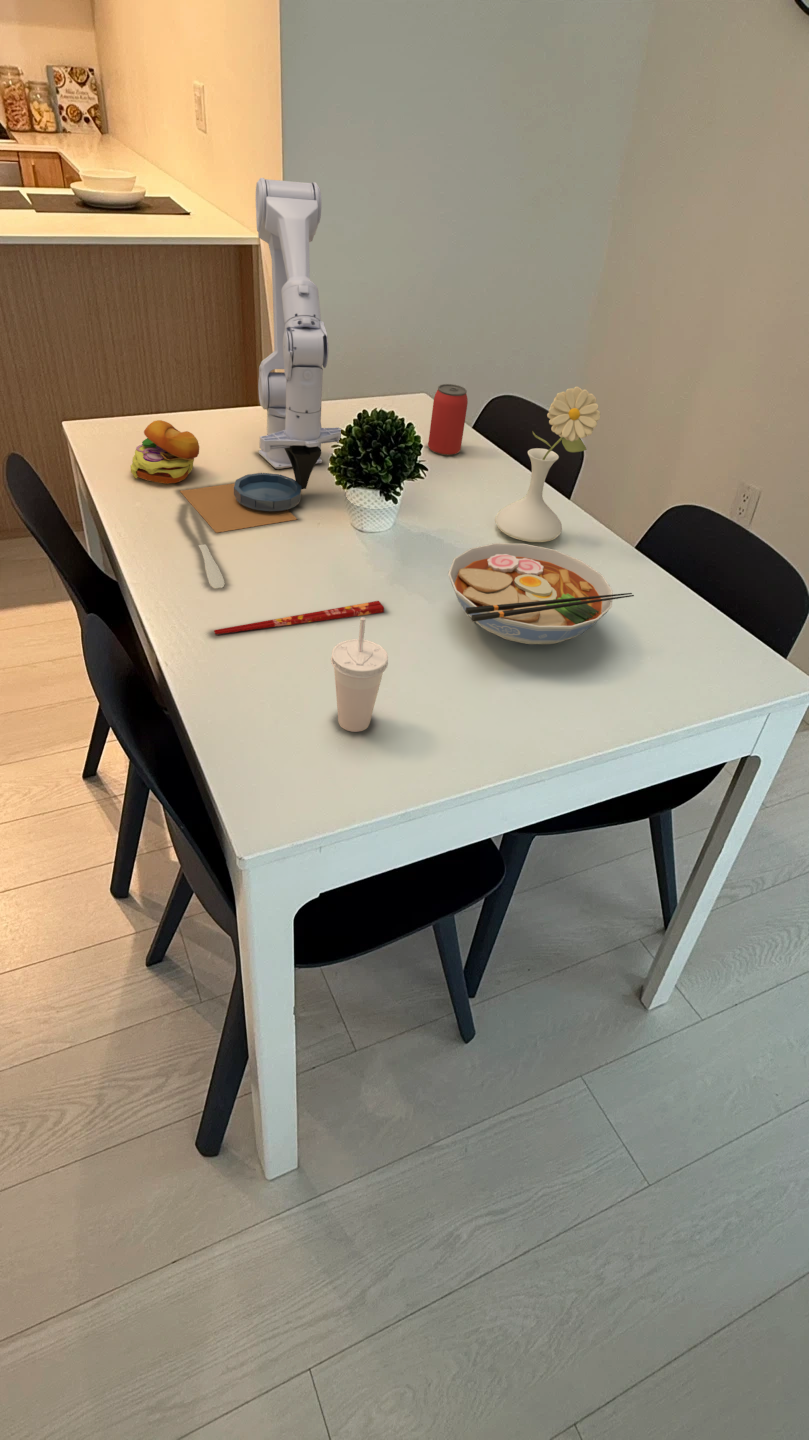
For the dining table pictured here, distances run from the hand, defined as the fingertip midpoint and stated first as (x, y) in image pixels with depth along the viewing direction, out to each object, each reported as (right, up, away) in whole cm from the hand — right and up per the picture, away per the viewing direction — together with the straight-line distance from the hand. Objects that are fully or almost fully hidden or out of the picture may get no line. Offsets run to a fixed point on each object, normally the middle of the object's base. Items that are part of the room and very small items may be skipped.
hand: (301, 486), depth 148 cm
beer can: (+25, +14, +24) cm, 38 cm away
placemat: (-10, -4, -4) cm, 12 cm away
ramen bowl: (+34, -27, -25) cm, 50 cm away
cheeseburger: (-24, +2, +2) cm, 24 cm away
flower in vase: (+39, -9, -1) cm, 40 cm away
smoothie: (+12, -40, -46) cm, 62 cm away
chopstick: (+4, -27, -30) cm, 40 cm away
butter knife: (-14, -13, -16) cm, 25 cm away
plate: (-5, -3, -2) cm, 6 cm away
